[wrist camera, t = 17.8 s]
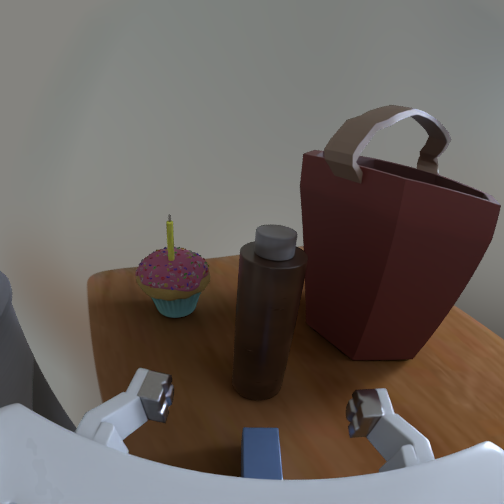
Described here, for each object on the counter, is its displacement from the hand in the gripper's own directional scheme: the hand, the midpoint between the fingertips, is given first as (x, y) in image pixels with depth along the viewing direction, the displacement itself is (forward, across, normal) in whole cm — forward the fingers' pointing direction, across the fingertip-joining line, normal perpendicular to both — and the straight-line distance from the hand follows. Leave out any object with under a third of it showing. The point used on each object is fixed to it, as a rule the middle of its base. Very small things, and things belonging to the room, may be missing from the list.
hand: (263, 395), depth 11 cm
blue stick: (-2, -1, +10) cm, 10 cm away
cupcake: (+19, +10, +10) cm, 24 cm away
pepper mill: (+9, 0, +10) cm, 13 cm away
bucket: (+20, -14, +10) cm, 26 cm away
